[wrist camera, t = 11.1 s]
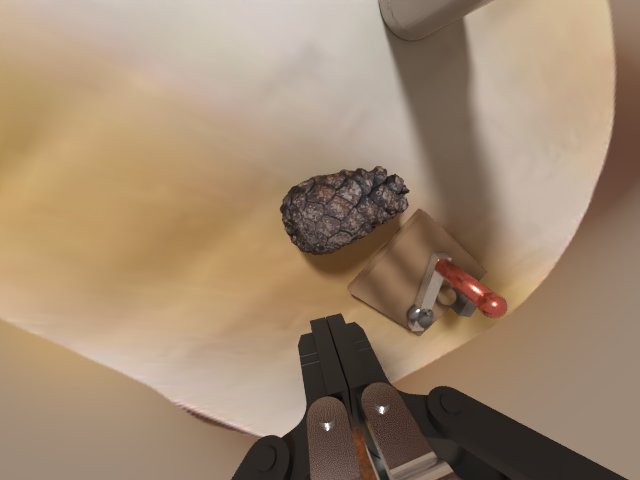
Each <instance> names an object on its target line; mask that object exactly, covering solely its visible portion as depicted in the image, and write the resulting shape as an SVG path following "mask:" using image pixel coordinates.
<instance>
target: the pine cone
mask: <svg viewBox="0 0 640 480" xmlns="http://www.w3.org/2000/svg"><path fill="white" fill-rule="evenodd" d="M403 183H404V180H403V179H402V178H400V177H399V176H397V175H396V174H394V175H390V176H388V177H387V170H386V169H383V168H382V167H381V166H377V167H375V168H374V169H373V170H372V171H370V172H368V171H366V170H364V169H363V168H357V169H356V171H355V172H354V171H347V170H345V169H344V170H341V171H340V172H339V173H336V174H331V175H323V176H315V177H312V178H310V179H309V180H307V181H304V182H302V183H300V184H298V185H297V186H293V187H292V188H291V189H290V191H289V192H288V194H287V195H286V196H285V197H284V199H283V204H282V206H281V207H280V211H281V213H282V214H283V215H282V217H283V218H282V221H283V223H284V225H285V231H286V232H287V234H288V235H289V236H290V237H291V242H292V243H293V244H295V245H296V246H298V248H299V249H300V250H301V251H302V252H307V253H309V252H311V253H312V254H314V255H322V254H330V253H333V252H334V251H336V250H338V249H340V247H341V246H345V245H348V244H351V243H354V242H355V241H356V240H357V239H361V238H363V237H364V236H366V235H368V234H369V233H370V232H372V231H373V230H374V229H375V227H376V226H379V225H381V224H386V223H388V220H390V219H393V217H394V216H395V215H396V214H397V213H398V212H399V213H402V212H404V211H405V210H406V209H407V208H408V206H409V205H408V201H407V199H406V196H405V194H406V193H408V192H409V191H410V190H408V189H407V188H406V185H403Z"/></svg>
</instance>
